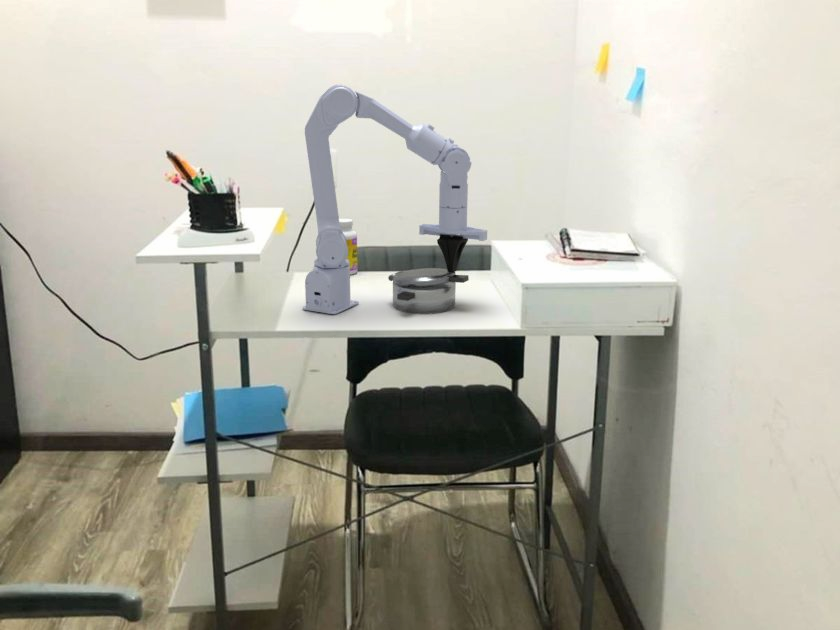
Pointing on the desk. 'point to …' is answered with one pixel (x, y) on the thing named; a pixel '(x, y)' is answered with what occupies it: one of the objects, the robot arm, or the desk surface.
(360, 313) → the desk surface
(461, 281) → the lid
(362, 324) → the desk surface
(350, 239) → the supplement bottle
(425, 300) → the pot
